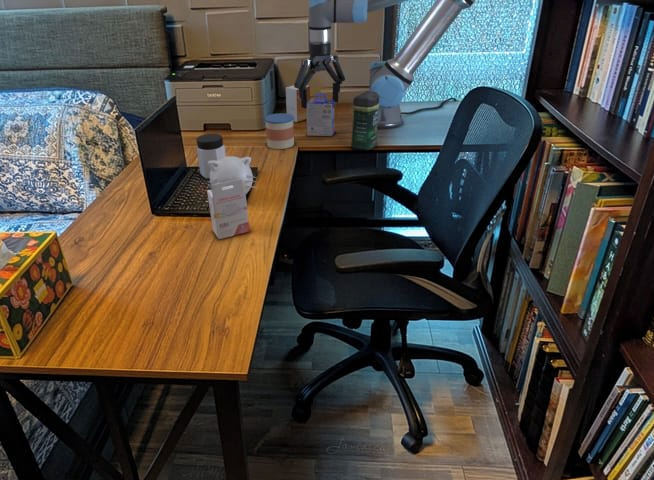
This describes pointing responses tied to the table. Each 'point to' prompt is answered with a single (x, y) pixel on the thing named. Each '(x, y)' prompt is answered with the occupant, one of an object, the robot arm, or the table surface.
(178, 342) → the table surface
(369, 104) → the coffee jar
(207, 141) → the jar
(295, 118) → the small box
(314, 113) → the ink cartridge box
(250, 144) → the table surface
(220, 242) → the table surface
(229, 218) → the ink cartridge box
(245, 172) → the cat head
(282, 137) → the yogurt tub
